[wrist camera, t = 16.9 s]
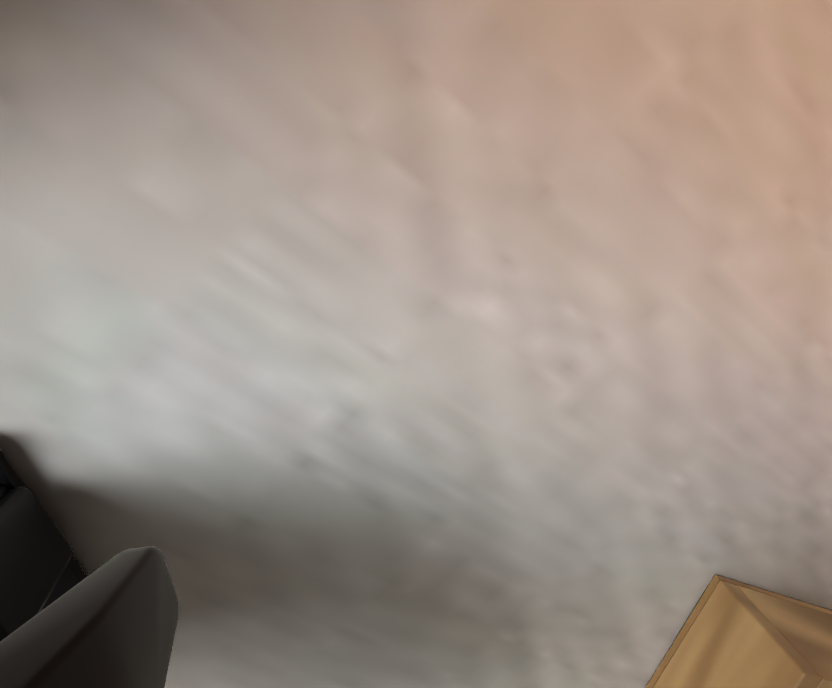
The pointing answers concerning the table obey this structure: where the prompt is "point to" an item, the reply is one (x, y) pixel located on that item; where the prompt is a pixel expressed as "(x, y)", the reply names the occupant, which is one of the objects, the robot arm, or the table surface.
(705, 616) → the crate
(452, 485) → the table surface
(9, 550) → the robot arm
